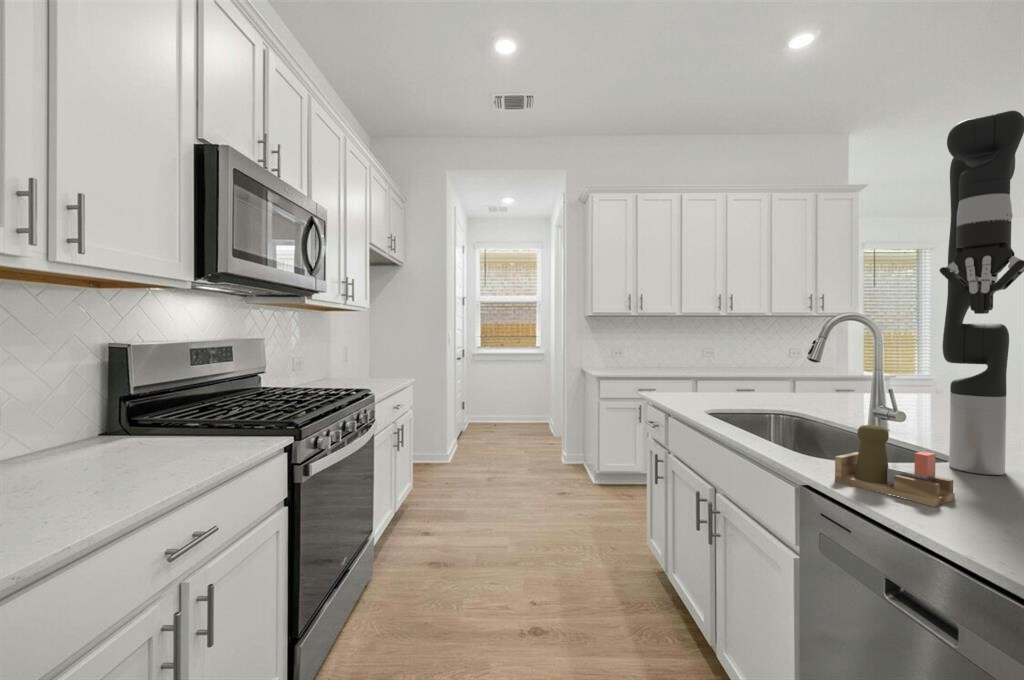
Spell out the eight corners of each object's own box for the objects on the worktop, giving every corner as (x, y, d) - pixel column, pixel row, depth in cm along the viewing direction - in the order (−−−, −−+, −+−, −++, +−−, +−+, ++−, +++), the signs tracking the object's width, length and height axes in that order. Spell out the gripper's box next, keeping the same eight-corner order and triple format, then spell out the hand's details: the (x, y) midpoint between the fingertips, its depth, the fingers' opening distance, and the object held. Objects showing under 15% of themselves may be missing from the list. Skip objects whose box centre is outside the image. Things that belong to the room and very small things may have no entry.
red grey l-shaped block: (895, 481, 98) (895, 446, 98) (935, 490, 92) (935, 453, 92) (887, 483, 97) (887, 448, 96) (927, 493, 91) (927, 455, 91)
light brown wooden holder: (856, 475, 107) (856, 452, 107) (954, 499, 92) (955, 472, 91) (834, 480, 103) (835, 456, 103) (933, 506, 88) (934, 478, 88)
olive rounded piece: (897, 484, 97) (898, 429, 97) (863, 482, 98) (864, 428, 98) (880, 475, 103) (881, 423, 102) (848, 474, 104) (849, 422, 104)
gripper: (931, 227, 97) (929, 314, 97) (1023, 212, 85) (1021, 312, 86) (949, 230, 100) (947, 314, 101) (1040, 217, 89) (1038, 312, 89)
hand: (981, 313), depth 93 cm, fingers closed
